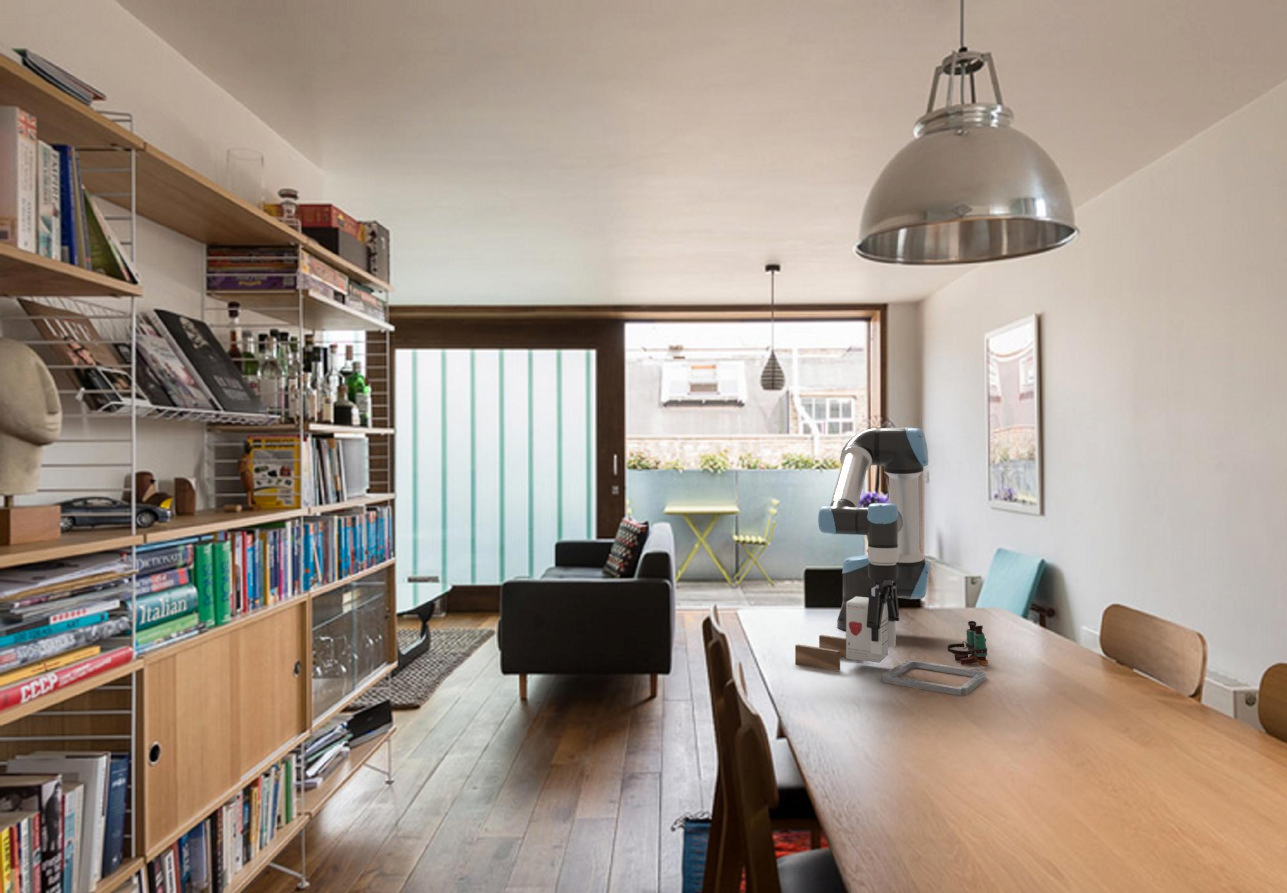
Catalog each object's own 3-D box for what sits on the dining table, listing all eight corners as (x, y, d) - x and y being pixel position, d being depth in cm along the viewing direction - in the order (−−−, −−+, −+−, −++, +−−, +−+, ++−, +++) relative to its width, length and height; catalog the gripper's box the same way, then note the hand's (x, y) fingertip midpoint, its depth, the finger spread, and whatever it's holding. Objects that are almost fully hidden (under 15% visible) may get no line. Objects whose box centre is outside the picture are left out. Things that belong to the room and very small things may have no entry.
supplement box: (845, 658, 216) (844, 601, 216) (855, 651, 224) (855, 595, 224) (879, 663, 211) (879, 605, 211) (889, 655, 219) (888, 598, 219)
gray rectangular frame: (908, 665, 220) (908, 659, 220) (988, 677, 208) (988, 671, 208) (879, 682, 204) (879, 675, 204) (964, 696, 192) (964, 690, 192)
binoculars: (941, 622, 228) (977, 619, 228) (945, 661, 228) (981, 657, 228) (952, 629, 219) (990, 625, 219) (957, 669, 219) (995, 665, 219)
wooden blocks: (821, 652, 234) (821, 634, 234) (862, 658, 227) (862, 640, 227) (795, 664, 221) (795, 645, 221) (837, 671, 214) (837, 651, 214)
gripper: (884, 556, 226) (884, 639, 226) (852, 567, 209) (852, 656, 209) (911, 559, 221) (912, 643, 222) (881, 569, 204) (881, 661, 204)
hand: (883, 649), depth 215 cm, fingers closed on supplement box, 9 cm apart
